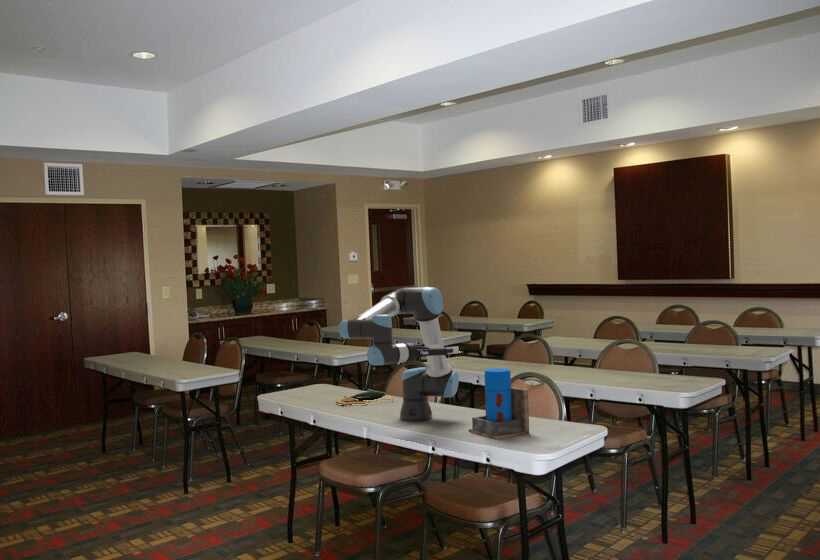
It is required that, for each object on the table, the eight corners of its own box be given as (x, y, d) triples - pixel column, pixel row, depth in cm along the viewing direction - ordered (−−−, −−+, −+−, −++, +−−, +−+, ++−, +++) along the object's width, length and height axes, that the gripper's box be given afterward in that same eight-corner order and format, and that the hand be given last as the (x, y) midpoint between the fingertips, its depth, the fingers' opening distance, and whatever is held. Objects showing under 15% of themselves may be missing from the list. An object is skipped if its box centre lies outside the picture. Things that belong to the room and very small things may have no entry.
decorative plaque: (385, 384, 391) (397, 389, 373) (385, 397, 391) (397, 403, 373) (331, 388, 381) (341, 394, 362) (332, 402, 381) (341, 408, 362)
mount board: (468, 431, 298) (467, 389, 298) (499, 426, 307) (498, 384, 307) (497, 439, 282) (495, 394, 282) (529, 433, 291) (528, 389, 291)
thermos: (487, 433, 289) (485, 372, 289) (484, 427, 300) (483, 368, 300) (514, 432, 289) (512, 371, 289) (510, 426, 300) (508, 368, 300)
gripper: (388, 359, 290) (431, 355, 301) (422, 365, 269) (466, 360, 280) (388, 341, 290) (430, 337, 301) (421, 345, 269) (466, 341, 280)
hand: (448, 348), depth 291 cm, fingers open, 13 cm apart
